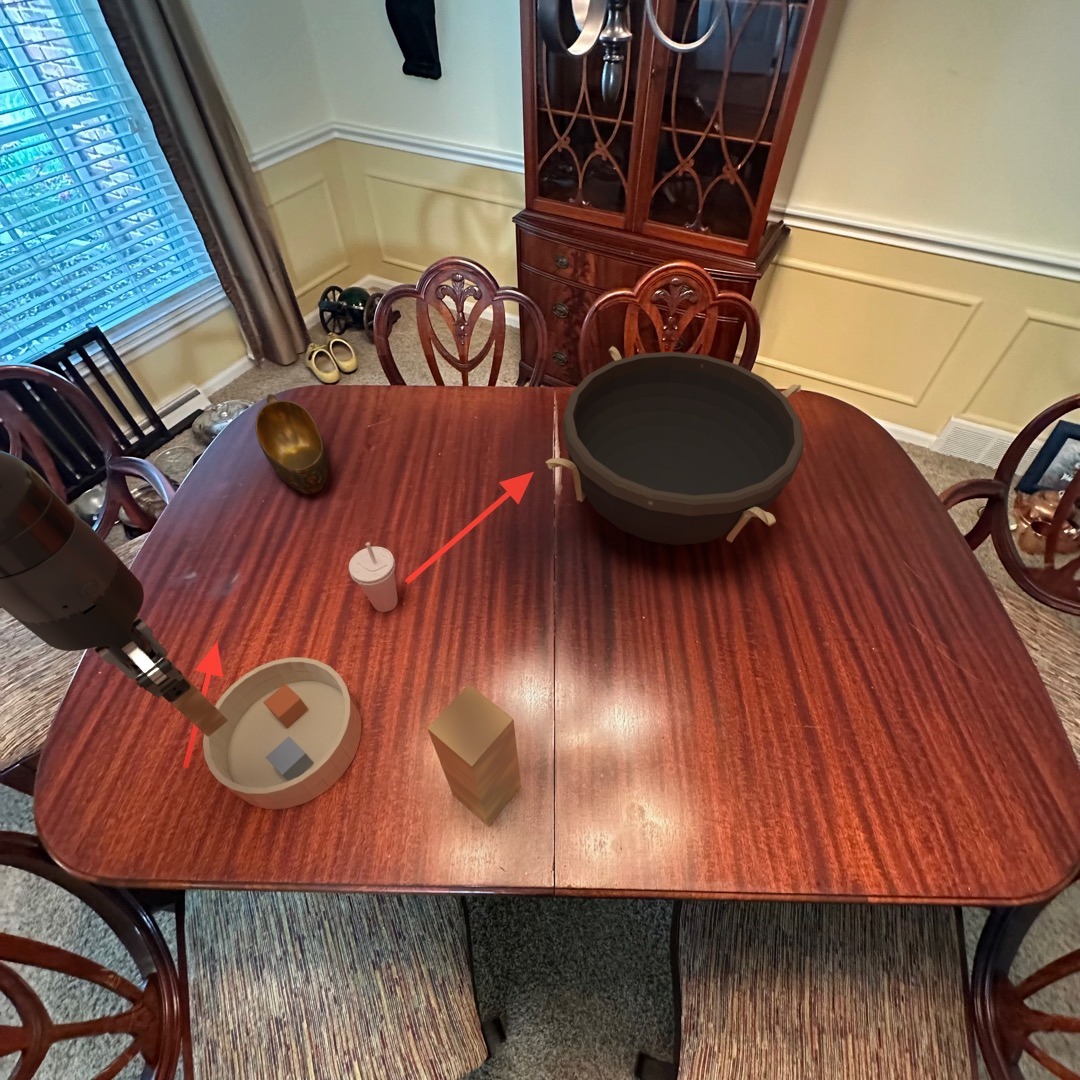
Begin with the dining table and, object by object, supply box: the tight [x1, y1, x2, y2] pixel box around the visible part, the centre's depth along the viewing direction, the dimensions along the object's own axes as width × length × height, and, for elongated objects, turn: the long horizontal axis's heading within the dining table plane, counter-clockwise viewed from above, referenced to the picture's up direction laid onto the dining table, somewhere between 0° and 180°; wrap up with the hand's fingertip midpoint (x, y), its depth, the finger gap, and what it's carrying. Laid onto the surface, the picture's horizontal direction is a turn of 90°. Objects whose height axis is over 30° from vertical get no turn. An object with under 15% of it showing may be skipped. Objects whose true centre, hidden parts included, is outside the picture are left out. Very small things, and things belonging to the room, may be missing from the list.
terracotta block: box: [263, 684, 308, 728], centre depth 79 cm, size 3×3×3 cm
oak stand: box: [426, 683, 522, 828], centre depth 66 cm, size 6×6×20 cm
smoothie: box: [348, 541, 399, 613], centre depth 87 cm, size 6×6×14 cm
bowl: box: [545, 345, 805, 546], centre depth 96 cm, size 35×35×20 cm
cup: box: [254, 393, 329, 495], centre depth 108 cm, size 13×20×10 cm, turn 4°
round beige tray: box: [202, 656, 362, 810], centre depth 76 cm, size 17×17×6 cm
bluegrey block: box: [266, 736, 314, 781], centre depth 74 cm, size 3×3×3 cm
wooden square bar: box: [150, 643, 228, 737], centre depth 60 cm, size 2×2×14 cm
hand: (171, 684), depth 58 cm, fingers closed on wooden square bar, 2 cm apart
